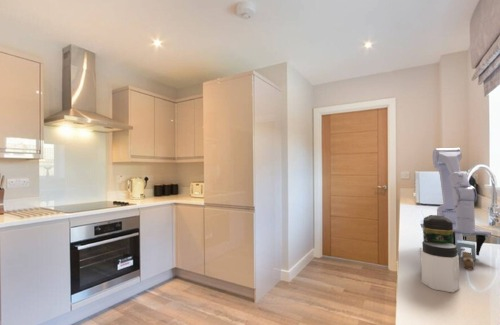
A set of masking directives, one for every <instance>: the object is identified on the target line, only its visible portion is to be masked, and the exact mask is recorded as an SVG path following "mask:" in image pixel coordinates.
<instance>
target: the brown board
mask: <svg viewBox="0 0 500 325" xmlns="http://www.w3.org/2000/svg"><path fill="white" fill-rule="evenodd" d="M461 254H462V262H463V268H464V269H468V270H475V269H474V268H475V267H474V260H473V259H472V255H471V252H468V251H461Z"/></svg>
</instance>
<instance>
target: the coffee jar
mask: <svg viewBox="0 0 500 325" xmlns="http://www.w3.org/2000/svg"><path fill="white" fill-rule="evenodd" d="M422 220H423V221H422V223H423V225H422V226H423V227H422V228H423V230H422V231H423V232H422V236H423V241H442V242H447V243H451V244H453V223H452V221H451V220H449V219H447V218H445V217H444V216H438V215H437V214H435V215H434V214H431V215H428V216H424V217H423V219H422Z"/></svg>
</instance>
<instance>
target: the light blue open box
mask: <svg viewBox="0 0 500 325" xmlns="http://www.w3.org/2000/svg"><path fill="white" fill-rule="evenodd" d="M461 247H464V248H466V249H471V250H470V253H471V255H472V259H473V261H476V256H477V255H476V242H474V241H467V240H466V241H465V240H463V241H459V240H457V255H458V256H459V259H461V258H462V255H461V254H462V251H461V250H462V249H461Z"/></svg>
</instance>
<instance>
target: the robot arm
mask: <svg viewBox="0 0 500 325" xmlns="http://www.w3.org/2000/svg"><path fill="white" fill-rule="evenodd" d="M462 152H463V151H462V150H461V149H460V147H454V148H449V147H447V148H434V149H433V150H432V164H433V167H434V168H436V169H437V170H438V173H439V180H440V187H441V193H442V202H443V203H441V205H439V206H438V207H437V209H436V215H438V216H444V217H445V218H447V219H449V220H451V221H452V223H453V244H454V245H456V246H457V240H459V241H464V239H463V238H464V237H463V236H464V235H468V236H469V235H470V236H475V254H476V256H480V252H481V249H482V246H483V244H484V243H485V241H486V239H487V238H492V232H491V230H484V229H483V230H482V229H476V222H475V219H476V218H475V217H476V216H475V203H476V202H477V199H478V194H477V193H478V192H477V189H476V188H475V187H474V186H473V185H471V184H470V182H469V178H468V176H467V174H466V173H464V172H462V170H461V165H460V163H461V160H462V157H463V156H462V155H463V153H462ZM465 248H466V247H461V250H463V251H464V250H466V249H465Z"/></svg>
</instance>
